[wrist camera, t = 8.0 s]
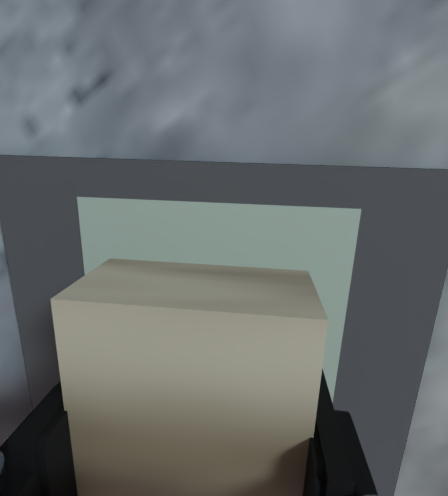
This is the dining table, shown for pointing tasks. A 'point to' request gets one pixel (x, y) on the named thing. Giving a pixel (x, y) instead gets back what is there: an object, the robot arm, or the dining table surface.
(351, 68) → the dining table surface
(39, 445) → the robot arm
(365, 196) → the mat
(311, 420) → the wooden block
